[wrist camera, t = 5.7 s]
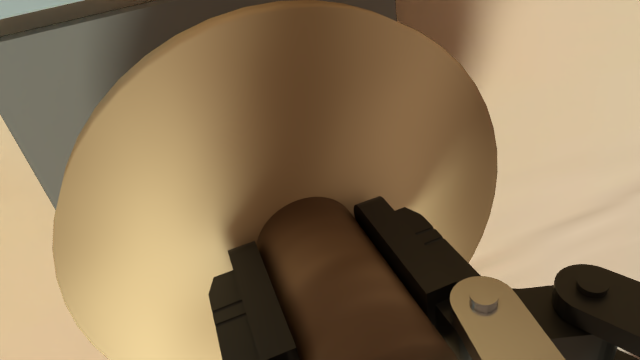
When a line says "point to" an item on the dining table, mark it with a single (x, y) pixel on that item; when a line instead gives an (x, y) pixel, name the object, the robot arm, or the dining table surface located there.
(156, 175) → the lid
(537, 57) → the dining table surface
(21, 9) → the pale blue open box
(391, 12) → the mat
